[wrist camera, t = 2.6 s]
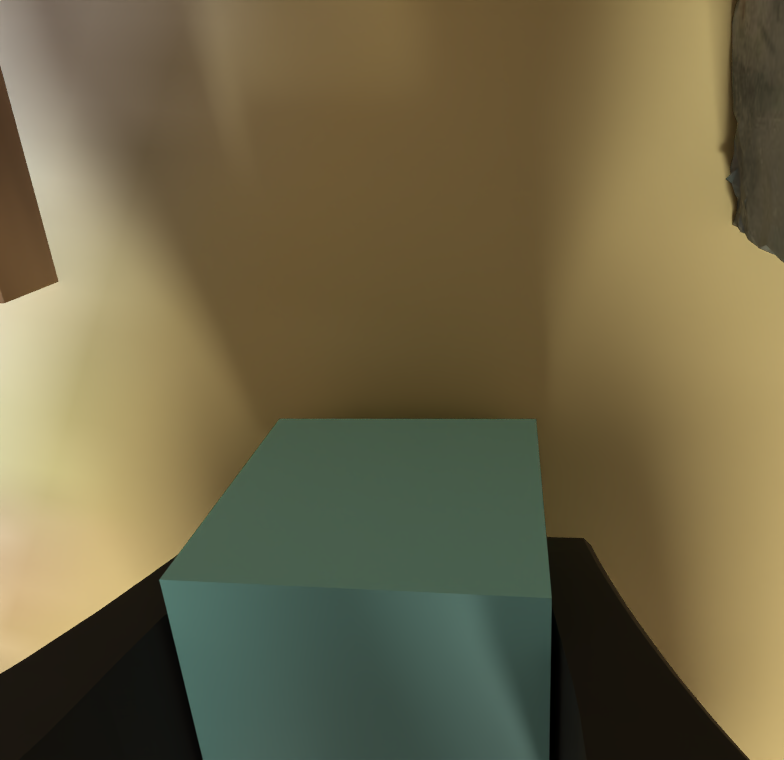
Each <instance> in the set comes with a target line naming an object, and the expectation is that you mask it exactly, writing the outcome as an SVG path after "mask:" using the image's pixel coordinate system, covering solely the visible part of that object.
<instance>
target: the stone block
mask: <svg viewBox="0 0 784 760" xmlns="http://www.w3.org/2000/svg"><path fill="white" fill-rule="evenodd" d="M732 46H733V49H732V70H731V71H732V93H733V113H734V115H735V118H736V120H737V123H738V124H737V130H736V135H735V139H734V156H733V159H732V163H731V167H730V173H731V175H729V176H728V177H727V178H726V180H728V181H729V182H731V183H732V186H733V189H734V193H735V196H736V197H737V198H738V202H737V213H736V216H735V219H734V222H733V225H734V226H736V227H738V228H739V230H740V232H742V233H745V234H746V236H747V238H748V240H749V241H751V242H752V243H753V244H755V245H756V246H757V247H758V248H760V249H762V250H765V251H767V252H769V253H772V254H774V255H776V256H777V257H778V258H779V259H780V260H781V261H782V262H784V0H738V1H737V3H736V7H735V12H734V16H733V21H732Z"/></svg>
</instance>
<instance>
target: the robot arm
mask: <svg viewBox="0 0 784 760" xmlns="http://www.w3.org/2000/svg"><path fill="white" fill-rule="evenodd" d="M546 538H547V549H548V561H549V572H550V584H551V595H552V614H551V677H550V740H549V760H750V759H749V758H748V757H747V756H746V755H745V754H744V753H743V752H742V751H741V750H740V748H739V747H738V746H737V745H736V744H735V743H734V742H733V741H732V740H731V738H730V737H729V736H728V735H727V734H726V733H725V732H724V730H723V729H722V728H721V727H720V726H719V725H718V724H717V722H716V721H715V720H714V719H713V718H712V717H711V715H710V714H709V713H708V712H707V711H706V709H705V708H704V707H703V706H702V705H701V703H700V702H699V701H698V700H697V698H696V697H695V696H694V695H693V694H692V692H691V691H690V690H689V689H688V688H687V686H686V685H685V684H684V683H683V681H682V680H681V679H680V678H679V676H678V675H677V674H676V672H675V671H674V670H673V669H672V667H671V666H670V665H669V663H668V662H667V661H666V660H665V658H664V657H663V656H662V654H661V653H660V651H659V650H658V649H657V647H656V646H655V645H654V643H653V642H652V640H651V639H650V638H649V636H648V635H647V634H646V632H645V631H644V630H643V628H642V627H641V625H640V624H639V623H638V621H637V620H636V618H635V617H634V615H633V614H632V613H631V611H630V610H629V608H628V607H627V605H626V604H625V602H624V601H623V599H622V597H621V596H620V594H619V593H618V591H617V590H616V588H615V587H614V585H613V583H612V582H611V580H610V579H609V577H608V575H607V574H606V572H605V570H604V568H603V567H602V565H601V563H600V561H599V560H598V558H597V556H596V554H595V552H594V550H593V548H592V546H591V545H590V544H589V543H588V542H587V541H586V540H585V539H584V538H557V537H546ZM176 557H177V556H175V557H174V558H173V559H171V560H170V561H168V562H167V563H166V564H164V565H163V566H161V567H160V568H159V569H157V570H156V571H154V572H153V573H152V574H150V575H149V576H147V577H146V578H145V579H143V580H142V581H140V582H139V583H137V584H136V585H135V586H133V587H132V588H130V589H129V590H128V591H126V592H125V593H123V594H122V595H120V596H119V597H118V598H116V599H115V600H113V601H112V602H111V603H109V604H108V605H106V606H105V607H103V608H102V609H101V610H99V611H98V612H96V613H95V614H93V615H92V616H90V617H88V618H87V619H85V620H84V621H82V622H81V623H79V624H78V625H76V626H75V627H73V628H72V629H70V630H69V631H67V632H66V633H64V634H62V635H61V636H59V637H58V638H56V639H55V640H53V641H52V642H50V643H49V644H47V645H46V646H44V647H43V648H41V649H40V650H38V651H36V652H35V653H33V654H32V655H30V656H29V657H27V658H26V659H24V660H22V661H21V662H19V663H18V664H16V665H14V666H13V667H11V668H9V669H8V670H6V671H4V672H3V673H1V674H0V760H203V758H202V754H201V750H200V746H199V742H198V737H197V733H196V729H195V725H194V721H193V717H192V713H191V709H190V704H189V700H188V696H187V692H186V688H185V684H184V680H183V675H182V671H181V667H180V663H179V659H178V655H177V651H176V647H175V642H174V638H173V634H172V630H171V626H170V622H169V618H168V613H167V609H166V605H165V601H164V597H163V593H162V589H161V585H160V580H159V579H160V578H161V577H162V575H163V574H164V573H165V571H166V570H167V569H168V567H169V566H170V565H171V563H172V562H173V561H174V559H175V558H176Z"/></svg>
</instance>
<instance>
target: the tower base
mask: <svg viewBox="0 0 784 760" xmlns="http://www.w3.org/2000/svg"><path fill="white" fill-rule="evenodd" d="M56 282H58V278H57V275H56V271H55V267H54V263H53V260H52V256H51V252H50V249H49V245H48V241H47V237H46V234H45V230H44V226H43V223H42V219H41V215H40V211H39V208H38V204H37V200H36V197H35V193H34V189H33V186H32V182H31V178H30V174H29V171H28V167H27V163H26V160H25V156H24V152H23V148H22V145H21V141H20V137H19V134H18V130H17V126H16V123H15V119H14V115H13V111H12V108H11V104H10V100H9V97H8V93H7V89H6V85H5V82H4V78H3V74H2V71H1V67H0V303H6V302H9V301H11V300H14V299H16V298H19V297H21V296H24V295H26V294H29V293H31V292H34V291H36V290H39V289H41V288H44V287H46V286H49V285H51V284H54V283H56Z"/></svg>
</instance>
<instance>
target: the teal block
mask: <svg viewBox="0 0 784 760" xmlns="http://www.w3.org/2000/svg"><path fill="white" fill-rule="evenodd" d="M159 580H160V585H161V589H162V593H163V597H164V601H165V605H166V609H167V613H168V618H169V622H170V626H171V630H172V634H173V638H174V642H175V647H176V651H177V655H178V659H179V663H180V667H181V671H182V675H183V680H184V684H185V688H186V692H187V696H188V700H189V704H190V709H191V713H192V717H193V721H194V725H195V729H196V733H197V737H198V742H199V746H200V750H201V754H202V758H203V760H549V740H550V677H551V614H552V595H551V584H550V572H549V561H548V549H547V538H546V526H545V515H544V503H543V492H542V480H541V469H540V457H539V446H538V434H537V423H536V419H279V420H278V422H277V423H276V424H275V426H274V427H273V428H272V430H271V431H270V432H269V434H268V435H267V436H266V438H265V439H264V440H263V442H262V443H261V444H260V446H259V447H258V448H257V450H256V451H255V452H254V454H253V455H252V456H251V458H250V459H249V460H248V462H247V463H246V464H245V466H244V467H243V468H242V470H241V471H240V472H239V474H238V475H237V476H236V478H235V479H234V480H233V482H232V483H231V484H230V486H229V487H228V488H227V490H226V491H225V492H224V494H223V495H222V496H221V498H220V499H219V501H218V502H217V503H216V505H215V506H214V507H213V509H212V510H211V511H210V513H209V514H208V515H207V517H206V518H205V519H204V521H203V522H202V523H201V525H200V526H199V527H198V529H197V530H196V531H195V533H194V534H193V535H192V537H191V538H190V539H189V541H188V542H187V543H186V545H185V546H184V547H183V549H182V550H181V551H180V553H179V554H178V555H177V557H176V558H175V559H174V561H173V562H172V563H171V565H170V566H169V567H168V569H167V570H166V571H165V573H164V574H163V575H162V577H161V578H160V579H159Z"/></svg>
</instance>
